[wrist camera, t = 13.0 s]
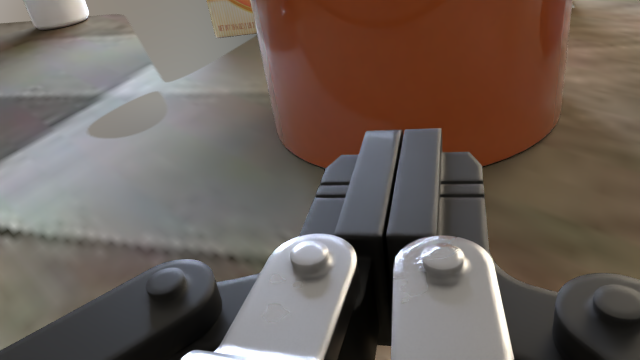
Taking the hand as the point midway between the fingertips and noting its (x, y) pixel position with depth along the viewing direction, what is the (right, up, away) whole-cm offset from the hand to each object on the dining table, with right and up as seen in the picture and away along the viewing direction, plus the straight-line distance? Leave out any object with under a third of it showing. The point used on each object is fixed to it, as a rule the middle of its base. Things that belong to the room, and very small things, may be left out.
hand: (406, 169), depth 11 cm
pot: (+3, +4, +18) cm, 19 cm away
